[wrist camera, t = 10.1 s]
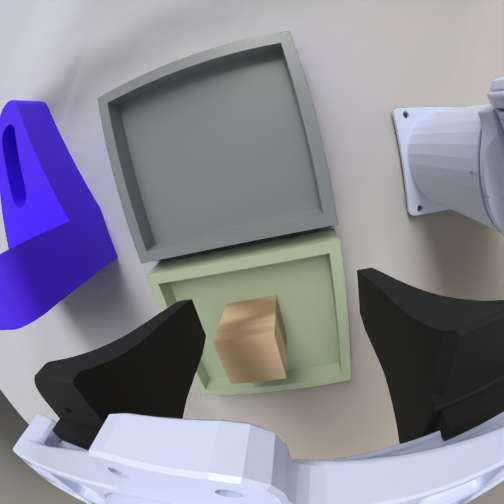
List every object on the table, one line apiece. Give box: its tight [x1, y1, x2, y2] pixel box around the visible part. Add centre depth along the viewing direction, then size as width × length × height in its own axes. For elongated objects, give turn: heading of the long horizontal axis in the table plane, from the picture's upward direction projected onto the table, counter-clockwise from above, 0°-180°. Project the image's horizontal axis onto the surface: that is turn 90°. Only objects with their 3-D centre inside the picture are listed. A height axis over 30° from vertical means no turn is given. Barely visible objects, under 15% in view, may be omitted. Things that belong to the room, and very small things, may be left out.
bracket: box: [0, 100, 117, 330], centre depth 15 cm, size 18×11×12 cm, turn 15°
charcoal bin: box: [98, 31, 338, 264], centre depth 17 cm, size 14×13×2 cm
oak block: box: [213, 295, 287, 384], centre depth 20 cm, size 4×4×5 cm
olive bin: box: [146, 229, 351, 395], centre depth 22 cm, size 14×13×2 cm
